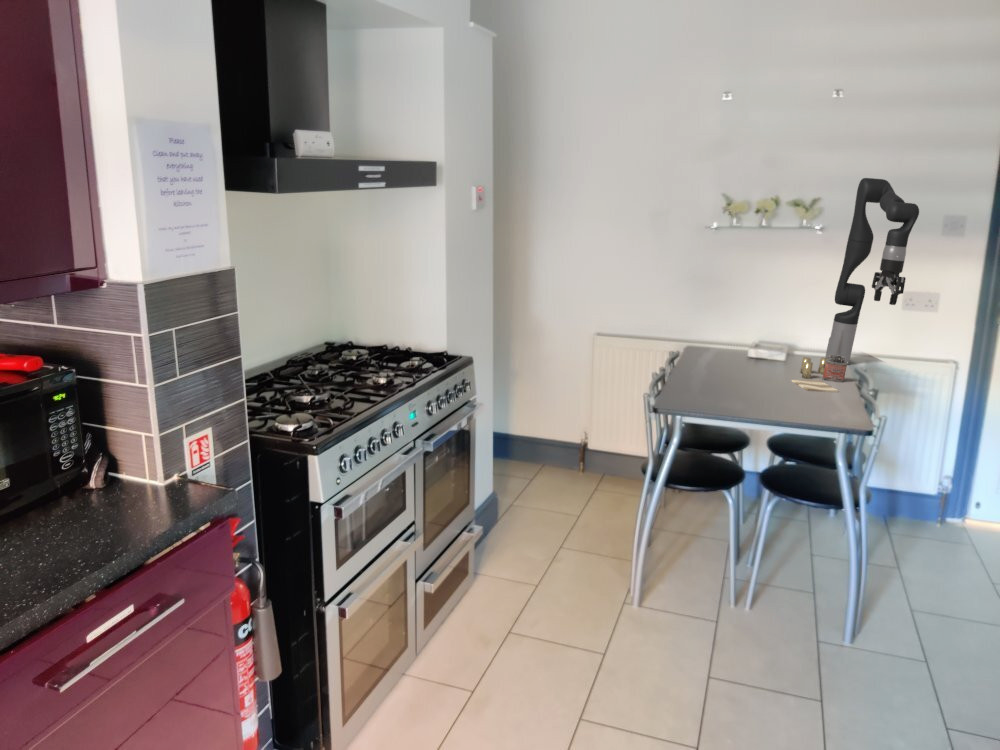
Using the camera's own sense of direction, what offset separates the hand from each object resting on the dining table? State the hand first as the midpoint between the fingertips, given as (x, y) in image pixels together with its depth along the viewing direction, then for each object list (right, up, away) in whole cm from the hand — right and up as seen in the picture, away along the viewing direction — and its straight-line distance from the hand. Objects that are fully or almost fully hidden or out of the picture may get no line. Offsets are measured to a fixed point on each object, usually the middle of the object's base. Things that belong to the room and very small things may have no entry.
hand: (884, 302), depth 301 cm
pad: (-26, -31, -1) cm, 40 cm away
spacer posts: (-20, -27, +16) cm, 37 cm away
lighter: (-15, -29, +11) cm, 34 cm away
